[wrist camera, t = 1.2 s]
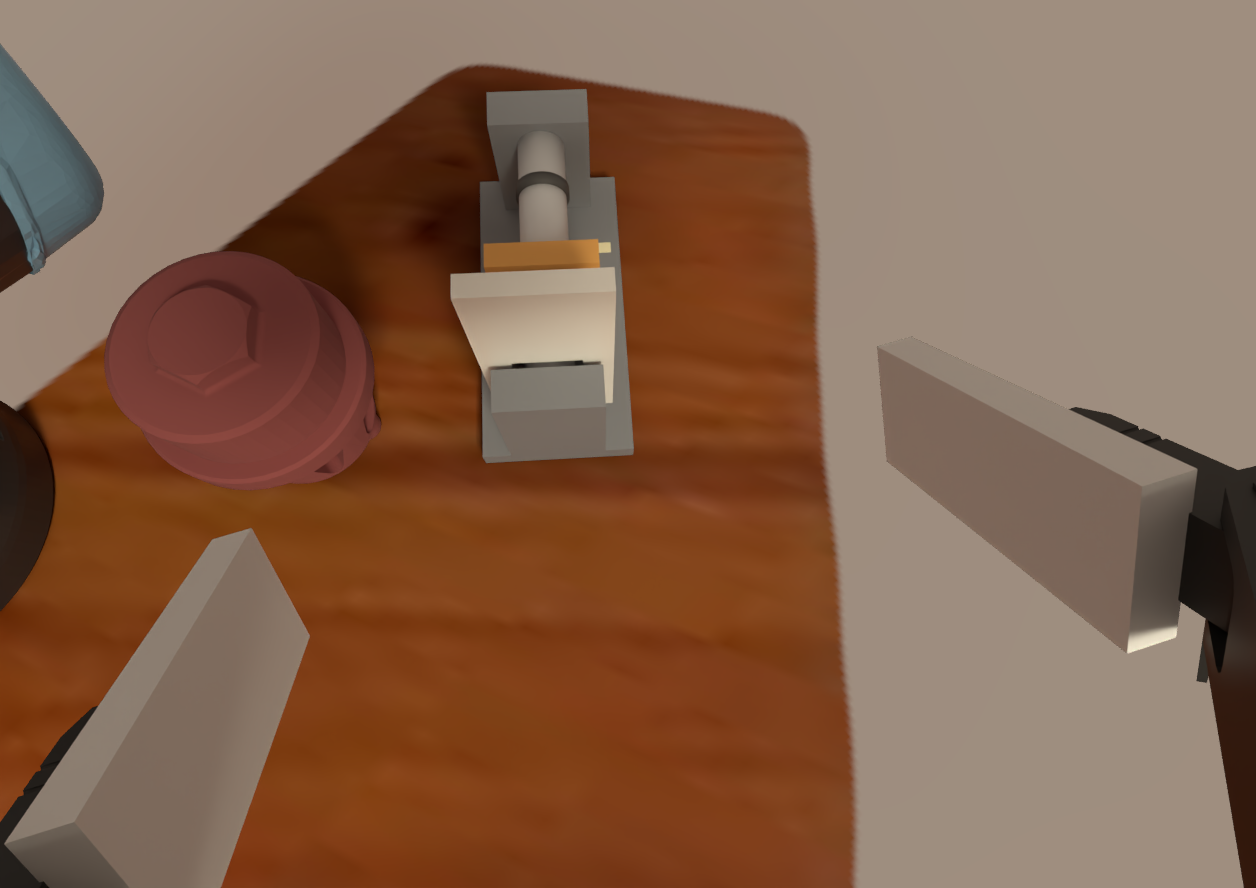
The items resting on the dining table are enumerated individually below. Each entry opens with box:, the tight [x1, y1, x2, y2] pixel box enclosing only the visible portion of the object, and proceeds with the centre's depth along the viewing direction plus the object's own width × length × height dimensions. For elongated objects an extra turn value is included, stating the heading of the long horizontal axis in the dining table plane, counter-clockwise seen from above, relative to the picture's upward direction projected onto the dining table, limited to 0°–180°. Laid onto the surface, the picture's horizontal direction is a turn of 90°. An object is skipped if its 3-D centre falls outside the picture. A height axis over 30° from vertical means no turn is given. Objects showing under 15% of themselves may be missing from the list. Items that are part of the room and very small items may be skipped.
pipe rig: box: [480, 89, 634, 463], centre depth 37 cm, size 17×8×8 cm, turn 4°
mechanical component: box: [104, 251, 381, 490], centre depth 33 cm, size 12×10×10 cm
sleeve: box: [451, 267, 616, 403], centre depth 32 cm, size 4×6×12 cm, turn 94°
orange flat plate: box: [484, 239, 600, 273], centre depth 35 cm, size 1×5×5 cm, turn 94°
